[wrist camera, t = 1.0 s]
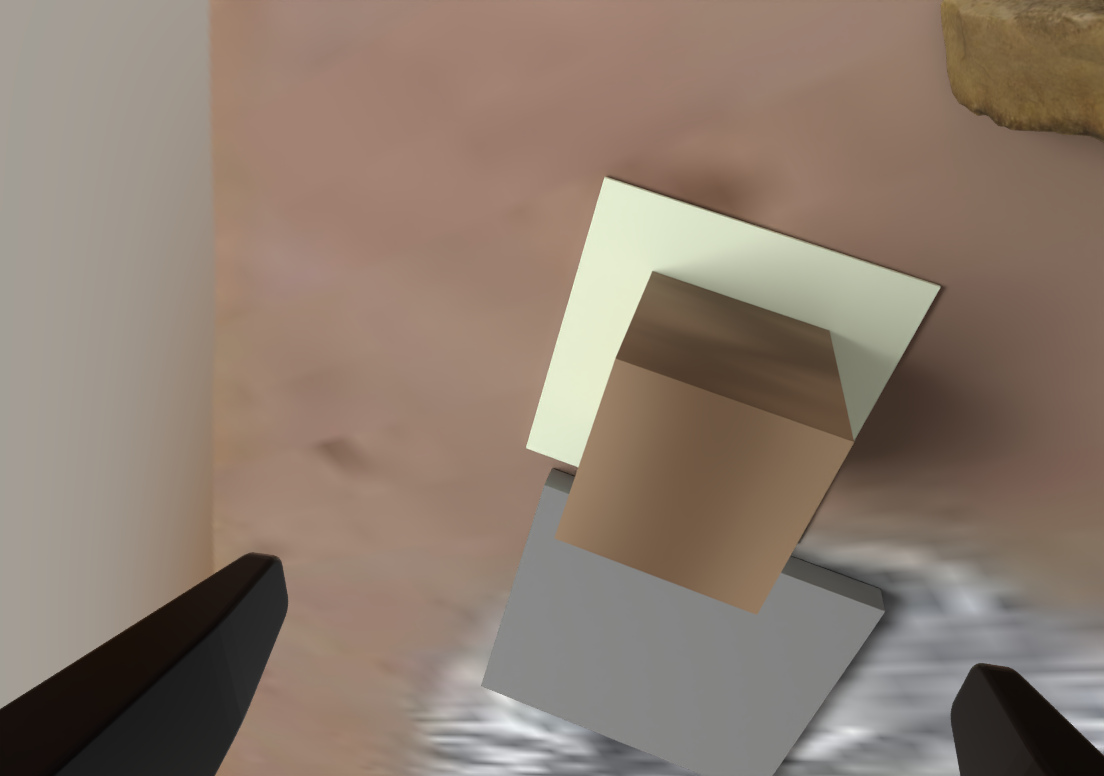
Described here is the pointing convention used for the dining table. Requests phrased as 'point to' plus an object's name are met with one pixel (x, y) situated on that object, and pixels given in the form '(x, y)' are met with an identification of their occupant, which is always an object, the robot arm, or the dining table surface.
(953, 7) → the rock
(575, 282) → the pale cream tile
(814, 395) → the block
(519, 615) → the slate board
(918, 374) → the dining table surface
